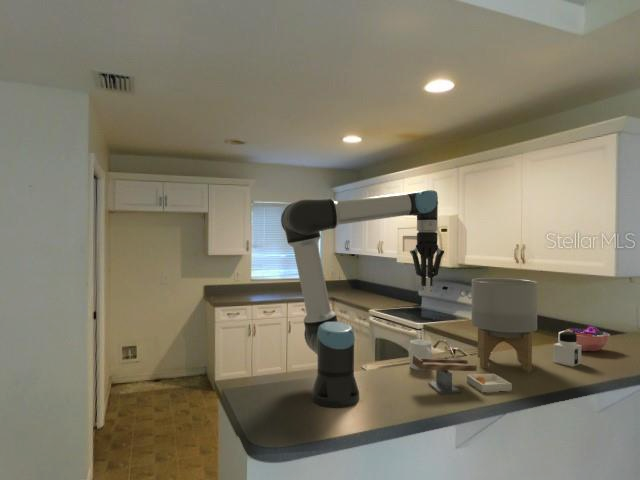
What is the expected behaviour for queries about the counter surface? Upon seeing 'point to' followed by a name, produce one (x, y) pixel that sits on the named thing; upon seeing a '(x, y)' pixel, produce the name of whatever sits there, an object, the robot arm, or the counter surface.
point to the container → (567, 349)
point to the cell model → (590, 338)
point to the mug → (420, 351)
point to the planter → (504, 316)
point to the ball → (481, 379)
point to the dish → (489, 383)
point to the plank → (443, 364)
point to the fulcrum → (444, 383)
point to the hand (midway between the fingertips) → (426, 294)
